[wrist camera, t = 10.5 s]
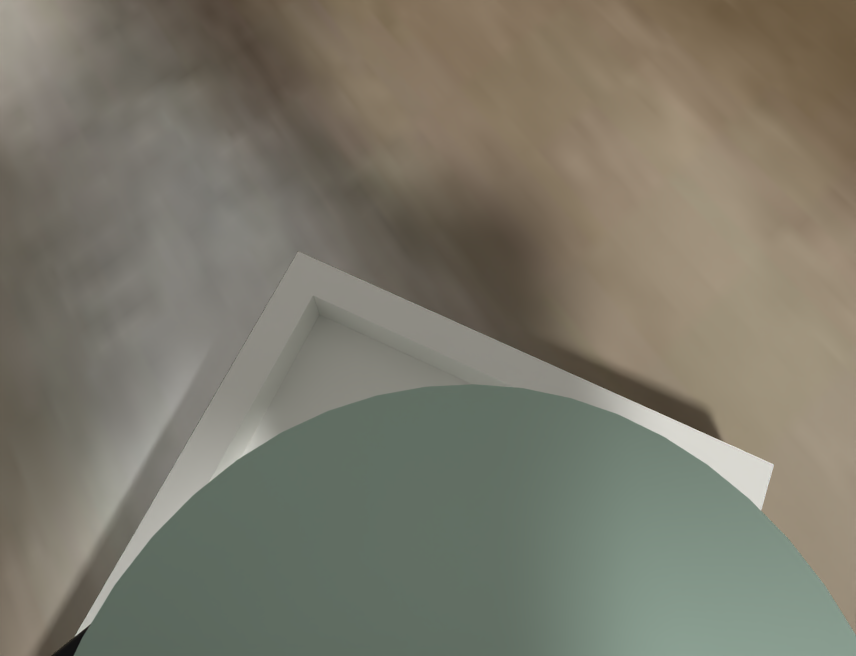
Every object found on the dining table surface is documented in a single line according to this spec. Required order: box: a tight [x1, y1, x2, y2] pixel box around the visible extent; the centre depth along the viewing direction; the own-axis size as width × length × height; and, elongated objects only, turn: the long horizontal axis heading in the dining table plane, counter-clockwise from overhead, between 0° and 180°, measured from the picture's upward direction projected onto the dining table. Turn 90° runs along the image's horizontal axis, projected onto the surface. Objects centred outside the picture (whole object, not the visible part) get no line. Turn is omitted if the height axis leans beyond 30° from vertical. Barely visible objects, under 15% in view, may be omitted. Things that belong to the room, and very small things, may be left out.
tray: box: [75, 251, 774, 636], centre depth 17 cm, size 14×14×2 cm
